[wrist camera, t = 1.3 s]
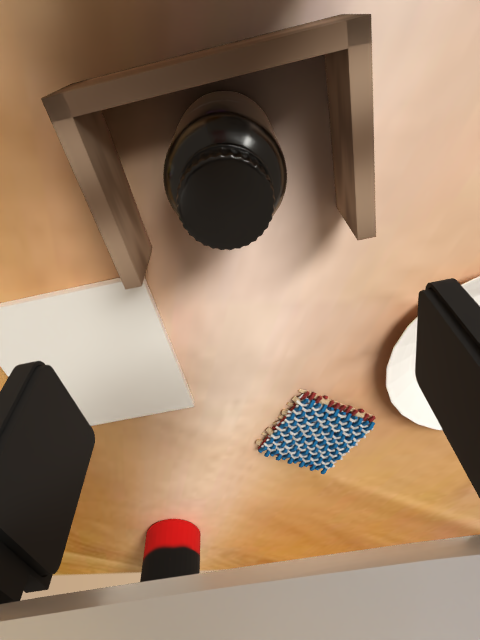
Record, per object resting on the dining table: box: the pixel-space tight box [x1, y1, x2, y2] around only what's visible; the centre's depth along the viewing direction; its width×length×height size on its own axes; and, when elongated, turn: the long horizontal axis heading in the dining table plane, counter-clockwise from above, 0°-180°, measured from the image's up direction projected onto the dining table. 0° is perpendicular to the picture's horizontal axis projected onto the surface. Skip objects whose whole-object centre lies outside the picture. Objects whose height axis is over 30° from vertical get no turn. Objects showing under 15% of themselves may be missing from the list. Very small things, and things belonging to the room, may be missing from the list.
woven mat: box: [256, 389, 375, 474], centre depth 48 cm, size 10×11×2 cm
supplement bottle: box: [163, 91, 287, 250], centre depth 25 cm, size 7×7×12 cm
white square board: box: [0, 277, 194, 426], centre depth 40 cm, size 16×16×1 cm
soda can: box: [140, 519, 200, 582], centre depth 55 cm, size 8×8×12 cm
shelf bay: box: [41, 14, 376, 290], centre depth 28 cm, size 12×17×6 cm
